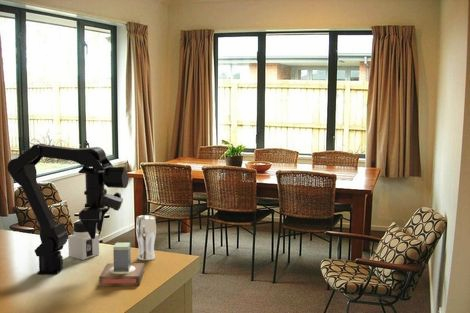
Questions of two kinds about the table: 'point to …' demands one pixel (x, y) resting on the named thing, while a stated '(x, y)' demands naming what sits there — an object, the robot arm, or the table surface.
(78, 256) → the container
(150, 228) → the beer glass
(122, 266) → the metal column
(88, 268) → the table surface
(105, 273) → the walnut step
